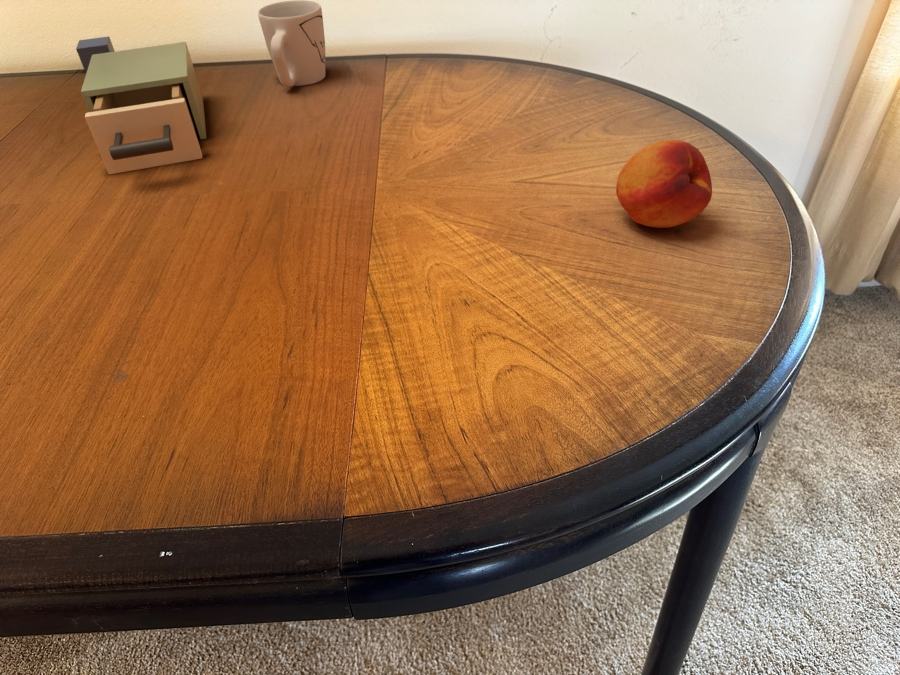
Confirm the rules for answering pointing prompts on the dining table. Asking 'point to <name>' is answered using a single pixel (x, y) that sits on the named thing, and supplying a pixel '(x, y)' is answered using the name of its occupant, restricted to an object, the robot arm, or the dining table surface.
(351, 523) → the dining table surface
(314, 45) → the mug
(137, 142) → the drawer
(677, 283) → the dining table surface
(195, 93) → the cabinet
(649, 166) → the fruit
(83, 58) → the block
